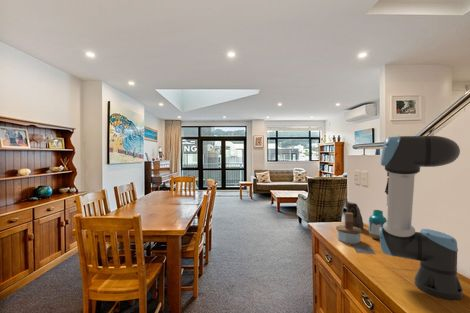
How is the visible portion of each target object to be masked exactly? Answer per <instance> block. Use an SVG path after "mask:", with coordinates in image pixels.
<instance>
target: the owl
mask: <svg viewBox="0 0 470 313" xmlns="http://www.w3.org/2000/svg"><path fill="white" fill-rule="evenodd" d="M346 202H347V203H346V211H345V212H350V213H353V226H354V227H357V228H360V229H361V230H362V231H363V229H364V221H363V220H364V219H363V216H362V212H361V209H360V208H359V206H358V203H354V202H352V201H346Z"/></svg>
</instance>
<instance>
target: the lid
mask: <svg viewBox="0 0 470 313" xmlns="http://www.w3.org/2000/svg"><path fill="white" fill-rule="evenodd" d="M335 226H336V227H335V229H336V230H338V231H340V232H343V233H349V234H360V233H361V234H362V232H363V229H362V230H361V229H360V228H357V227H354V226H353V213H350V212H346V211H345V212H344V224H342V225H335Z"/></svg>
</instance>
